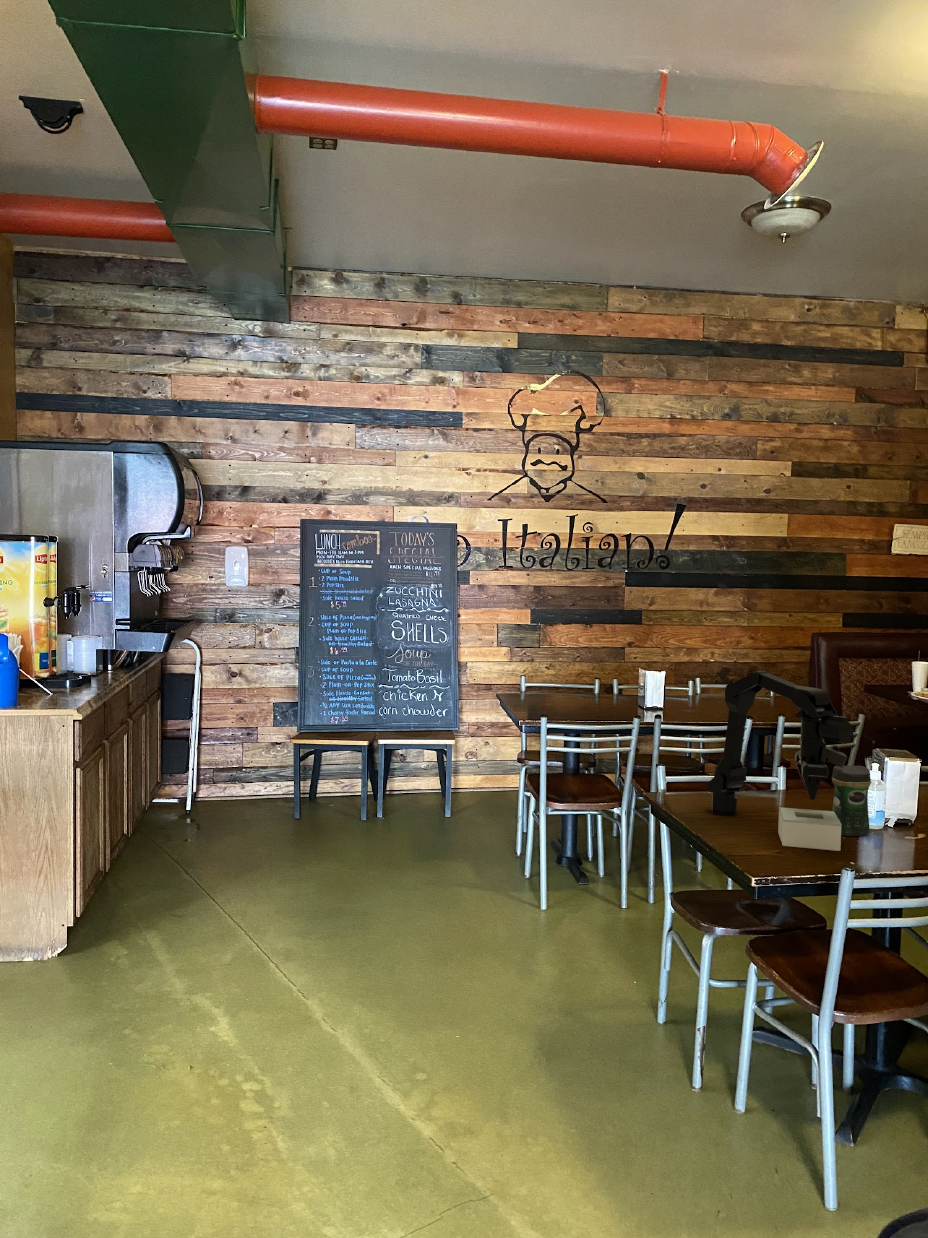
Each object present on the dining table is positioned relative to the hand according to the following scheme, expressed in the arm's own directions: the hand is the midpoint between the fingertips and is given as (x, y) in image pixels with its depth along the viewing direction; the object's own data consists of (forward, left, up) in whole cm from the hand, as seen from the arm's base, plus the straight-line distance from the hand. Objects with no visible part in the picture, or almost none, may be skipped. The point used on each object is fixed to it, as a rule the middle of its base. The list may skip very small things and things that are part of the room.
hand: (809, 795), depth 231 cm
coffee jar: (+12, +12, -13) cm, 21 cm away
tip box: (0, 0, -12) cm, 12 cm away
